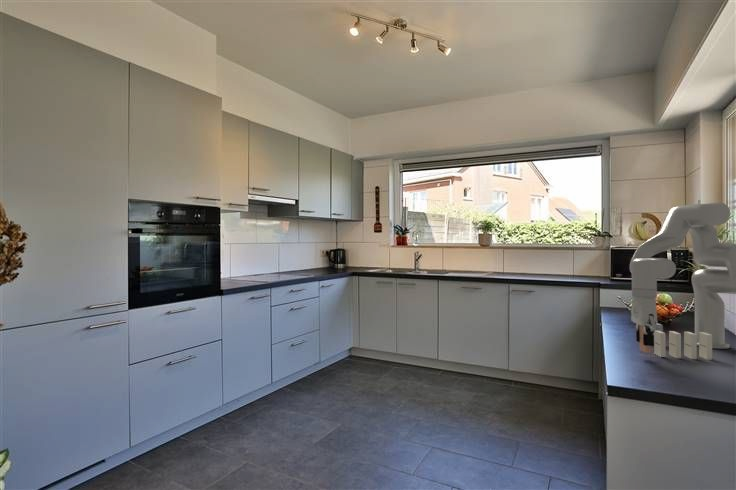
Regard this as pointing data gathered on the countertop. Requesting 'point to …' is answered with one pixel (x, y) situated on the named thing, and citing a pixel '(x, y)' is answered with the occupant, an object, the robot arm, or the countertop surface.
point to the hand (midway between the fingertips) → (644, 343)
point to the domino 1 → (642, 347)
